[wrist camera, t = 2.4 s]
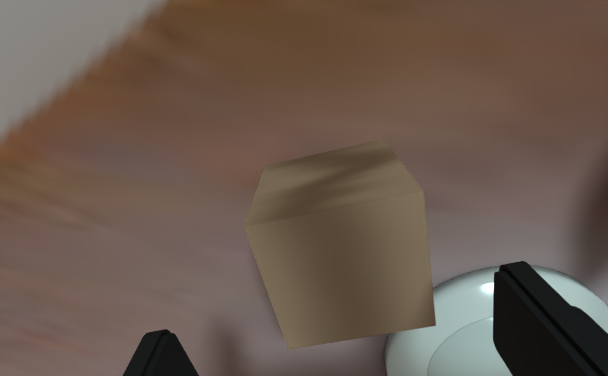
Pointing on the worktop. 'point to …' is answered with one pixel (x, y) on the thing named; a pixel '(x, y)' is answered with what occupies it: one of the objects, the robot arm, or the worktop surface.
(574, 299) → the dish
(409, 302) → the walnut block
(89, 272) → the worktop surface
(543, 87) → the worktop surface
